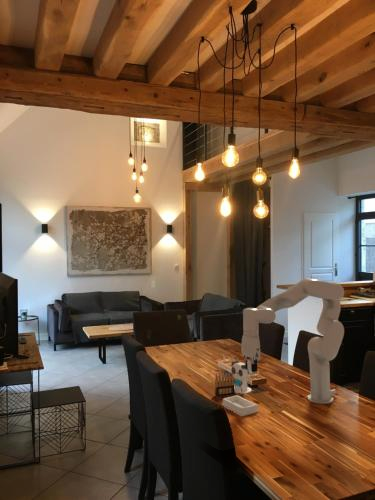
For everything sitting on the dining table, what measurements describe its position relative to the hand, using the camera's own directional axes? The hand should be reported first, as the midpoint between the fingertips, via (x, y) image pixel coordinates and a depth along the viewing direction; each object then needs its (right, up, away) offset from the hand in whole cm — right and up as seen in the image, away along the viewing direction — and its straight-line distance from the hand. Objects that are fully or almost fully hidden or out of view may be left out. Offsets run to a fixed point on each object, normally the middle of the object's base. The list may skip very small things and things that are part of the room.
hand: (251, 369), depth 211 cm
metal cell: (0, -2, 0) cm, 2 cm away
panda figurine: (-2, -18, +24) cm, 30 cm away
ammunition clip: (-12, -18, +17) cm, 27 cm away
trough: (-6, -18, -3) cm, 19 cm away
